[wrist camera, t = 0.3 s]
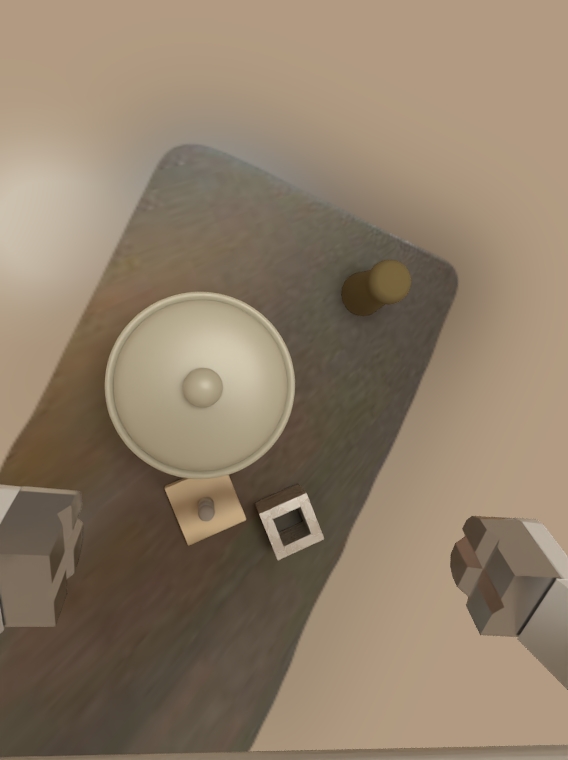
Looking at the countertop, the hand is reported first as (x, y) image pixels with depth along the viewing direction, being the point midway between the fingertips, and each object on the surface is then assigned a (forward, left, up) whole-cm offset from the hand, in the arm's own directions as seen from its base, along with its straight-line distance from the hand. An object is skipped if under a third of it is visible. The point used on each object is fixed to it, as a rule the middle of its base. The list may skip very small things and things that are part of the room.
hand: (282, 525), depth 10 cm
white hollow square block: (-19, -3, -53) cm, 56 cm away
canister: (+2, +1, -53) cm, 53 cm away
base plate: (-13, +6, -53) cm, 55 cm away
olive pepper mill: (+5, -24, -53) cm, 58 cm away
